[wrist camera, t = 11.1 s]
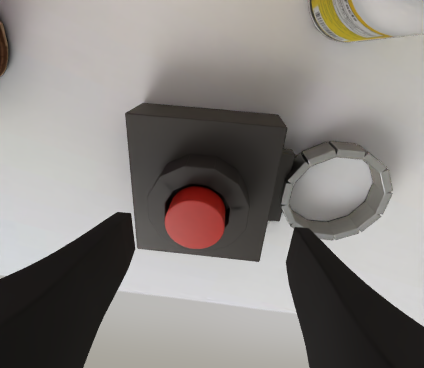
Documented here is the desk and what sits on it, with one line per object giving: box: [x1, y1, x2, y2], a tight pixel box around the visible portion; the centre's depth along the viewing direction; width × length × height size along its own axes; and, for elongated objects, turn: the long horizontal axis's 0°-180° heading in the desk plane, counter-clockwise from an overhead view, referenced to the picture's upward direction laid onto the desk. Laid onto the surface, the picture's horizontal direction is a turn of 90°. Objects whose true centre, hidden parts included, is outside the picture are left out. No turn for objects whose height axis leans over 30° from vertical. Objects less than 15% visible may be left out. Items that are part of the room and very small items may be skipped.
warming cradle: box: [268, 141, 393, 240], centre depth 20 cm, size 9×8×2 cm
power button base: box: [125, 103, 287, 262], centre depth 19 cm, size 10×11×6 cm
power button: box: [165, 186, 225, 249], centre depth 16 cm, size 4×4×2 cm
